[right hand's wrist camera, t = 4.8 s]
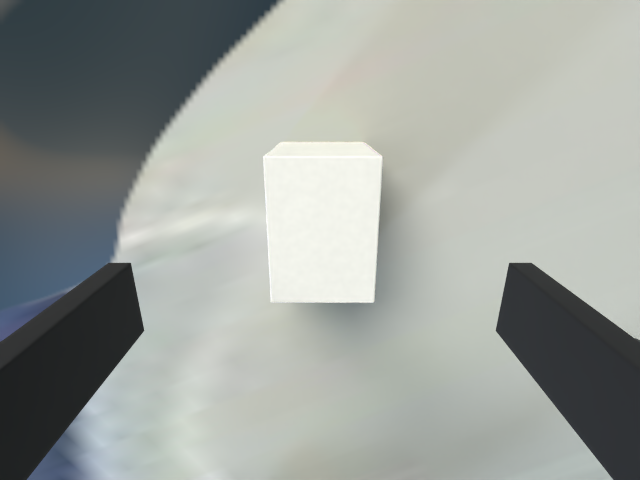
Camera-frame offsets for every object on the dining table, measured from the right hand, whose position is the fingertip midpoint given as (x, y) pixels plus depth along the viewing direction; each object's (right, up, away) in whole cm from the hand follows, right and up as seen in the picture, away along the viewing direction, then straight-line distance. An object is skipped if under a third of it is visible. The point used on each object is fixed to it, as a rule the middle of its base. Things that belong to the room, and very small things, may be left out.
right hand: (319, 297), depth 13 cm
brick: (0, +5, +14) cm, 15 cm away
